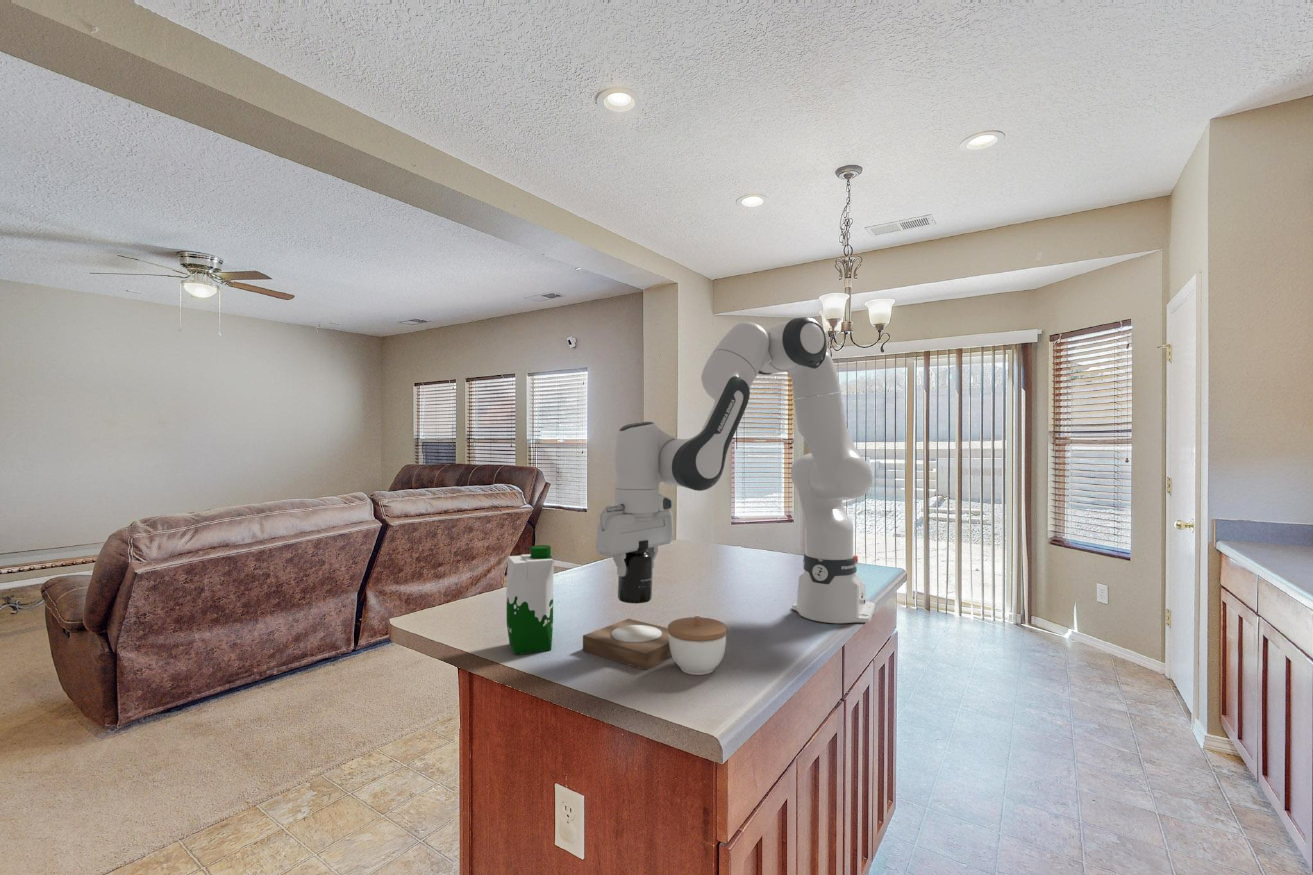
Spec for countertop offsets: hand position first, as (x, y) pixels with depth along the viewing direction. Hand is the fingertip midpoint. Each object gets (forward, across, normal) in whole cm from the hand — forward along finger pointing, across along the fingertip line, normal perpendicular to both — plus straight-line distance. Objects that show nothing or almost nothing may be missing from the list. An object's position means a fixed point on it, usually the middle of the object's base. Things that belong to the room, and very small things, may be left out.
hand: (636, 572), depth 113 cm
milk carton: (+16, -12, +18) cm, 27 cm away
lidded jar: (+15, 0, -15) cm, 22 cm away
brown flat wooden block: (+15, 0, 0) cm, 15 cm away
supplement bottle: (+6, 0, 0) cm, 6 cm away
